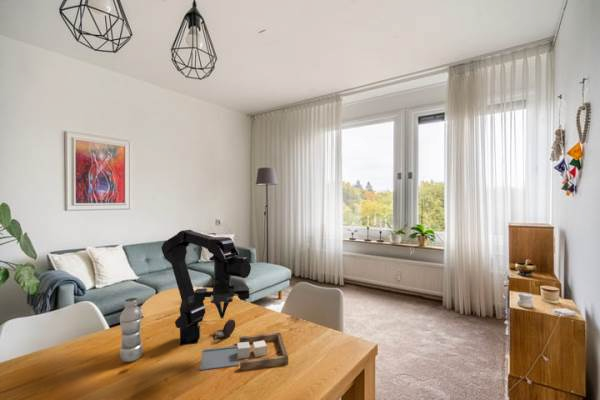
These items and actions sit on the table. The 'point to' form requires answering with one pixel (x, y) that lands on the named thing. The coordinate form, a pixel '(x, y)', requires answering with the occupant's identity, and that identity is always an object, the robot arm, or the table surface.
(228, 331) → the compass
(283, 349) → the walnut corral
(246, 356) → the cream matte cube
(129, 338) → the plastic bottle
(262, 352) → the white square block
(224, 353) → the rubber tray
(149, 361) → the table surface
